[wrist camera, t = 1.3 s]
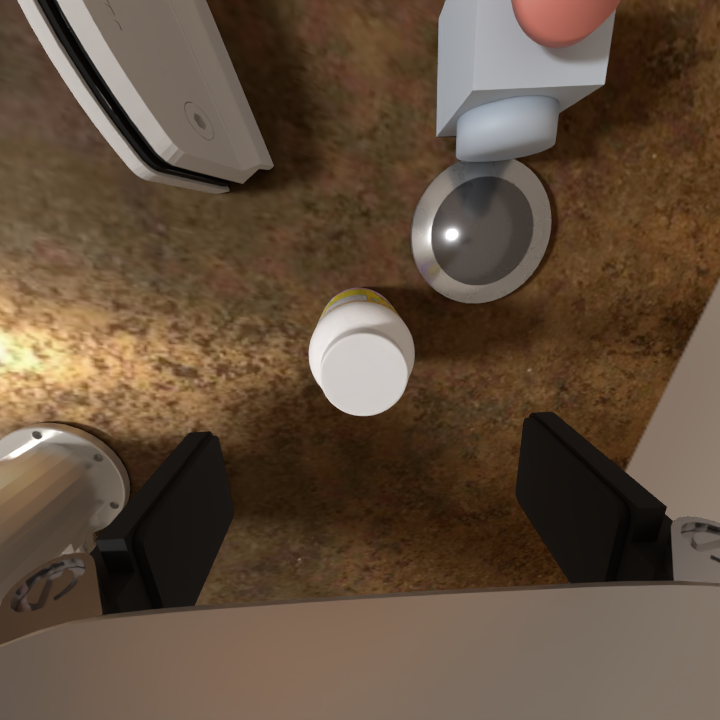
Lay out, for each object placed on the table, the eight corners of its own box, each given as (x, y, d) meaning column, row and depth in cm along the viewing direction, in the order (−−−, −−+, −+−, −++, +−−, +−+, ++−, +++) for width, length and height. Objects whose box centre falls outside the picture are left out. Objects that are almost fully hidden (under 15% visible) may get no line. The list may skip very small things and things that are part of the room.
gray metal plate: (536, 298, 30) (543, 300, 28) (409, 304, 29) (412, 307, 28) (552, 153, 26) (562, 149, 25) (409, 160, 26) (412, 157, 25)
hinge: (276, 171, 26) (177, 159, 17) (231, 197, 28) (121, 198, 19) (158, -116, 21) (-65, -335, 12) (113, -60, 23) (-108, -216, 14)
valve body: (526, 162, 26) (630, 112, 16) (435, 167, 26) (486, 119, 16) (540, 13, 23) (677, -154, 14) (438, 18, 23) (502, -147, 13)
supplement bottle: (404, 348, 31) (440, 415, 19) (335, 369, 31) (325, 448, 19) (384, 275, 29) (409, 297, 16) (310, 299, 29) (281, 337, 17)
